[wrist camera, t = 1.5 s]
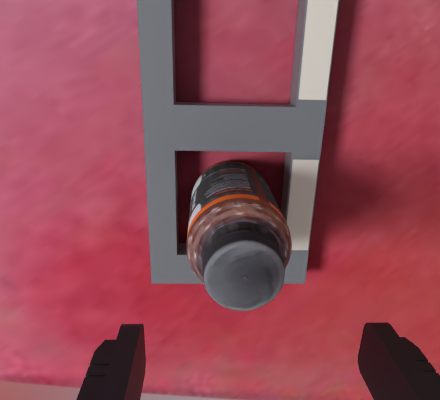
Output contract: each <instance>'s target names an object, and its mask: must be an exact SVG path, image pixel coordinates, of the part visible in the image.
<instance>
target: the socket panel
mask: <svg viewBox="0 0 440 400" xmlns="http://www.w3.org/2000/svg"><path fill="white" fill-rule="evenodd" d="M338 8H339V0H299V2H298V13H297V25H296V36H295V48H294V59H293V71H292V82H291V94H290V104H258V103H207V102H176V75H175V25H174V0H137V10H138V29H139V48H140V68H141V87H142V106H143V126H144V145H145V164H146V183H147V203H148V222H149V241H150V260H151V280H152V283H202V281H201V280H200V279H199V278H198V277H197V276H196V275H195V274H194V272H193V270H192V269H191V267H190V264H189V261H188V257H187V243H179V224H178V174H177V151H242V152H285V163H284V174H283V186H282V197H281V209H280V210H281V213H282V215H283V216H284V218H285V221H286V223H287V225H288V228H289V231H290V235H291V241H292V252H291V256H290V260H289V263H288V265H287V267H286V269H285V278H284V283H305V278H306V270H307V262H308V254H309V245H310V237H311V229H312V221H313V213H314V204H315V196H316V188H317V180H318V172H319V163H320V155H321V147H322V139H323V131H324V122H325V114H326V106H327V98H328V90H329V81H330V73H331V65H332V57H333V49H334V40H335V32H336V24H337V16H338Z"/></svg>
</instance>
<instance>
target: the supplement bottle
mask: <svg viewBox="0 0 440 400" xmlns="http://www.w3.org/2000/svg"><path fill="white" fill-rule="evenodd" d="M291 252H292V241H291V235H290V231H289V228H288V225H287V223H286V221H285V218H284V216H283V215H282V213H281V210H280V209H279V207H278V204H277V202H276V200H275V198H274V197H273V195H272V193H271V191H270V188H269V186H268V184H267V183H266V181H265V179H264V178H263V177H262V175H261V174H260V173H259V172H258V171H257V170H256V169H254V168H253V167H251V166H249V165H247V164H245V163H242V162H238V161H225V162H220V163H217V164H214V165H212V166H211V167H209V168H208V169H206V170H205V171H204V172H203V173H202V174H201V175H200V176H199V178H198V179H197V181H196V183H195V185H194V188H193V191H192V195H191V204H190V215H189V223H188V232H187V257H188V261H189V264H190V267H191V269H192V270H193V272H194V274H195V275H196V276H197V277H198V278H199V279H200V280H201V281H202V283H204V285H205V288H206V290H207V292H208V294H209V295H210V296H211V298H212V299H213V300H214V301H216V302H217V303H218V304H219V305H221V306H223V307H226V308H229V309H233V310H238V311H247V310H253V309H256V308H259V307H261V306H263V305H266V304H267V303H268V302H270V301H271V300H273V299H274V298H275V297H276V296H277V294H278V293H279V291H280V290H281V288H282V285H283V283H284V278H285V269H286V267H287V265H288V263H289V260H290V256H291Z"/></svg>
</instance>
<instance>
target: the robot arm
mask: <svg viewBox="0 0 440 400" xmlns="http://www.w3.org/2000/svg"><path fill="white" fill-rule="evenodd" d="M145 364H146V356H145V340H144V326H143V324H122V325H121V327H120V330H119V333H118V336H117V340H105V341H104V342H103V343H102V344H101V345H100V346H99V347H98V348H97V349H96V350H95V352H94V355H93V357H92V360H91V363H90V367H89V368H88V370H87V373H86V378H84V381H83V384H82V386H81V389H80V392H79V395H78V397H77V400H140V397H141V392H142V387H143V381H144V375H145ZM358 365H359V370H360V373H361V375H362V377H363V379H364V381H365V383H366V385H367V387H368V389H369V391H370V393H371V395H372V397H373V399H374V400H440V375H439V374H438V373H436V370H435V369H434V368H433V366H432V365H431V364H430V363H428V360H427V358H426V357H425V356H424V354H423V353H422V352H421V350H420V349H419V348H418V347H417V346H416V345H414V344H413V343H412V342H410V341H409V340H408V339H406V338H405V337H399V336H398V334H397V333H396V331H395V330H394V329H393V327H392V326H391V325H390V324H389V323H366V324H365V326H364V329H363V334H362V339H361V344H360V349H359V354H358Z"/></svg>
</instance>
